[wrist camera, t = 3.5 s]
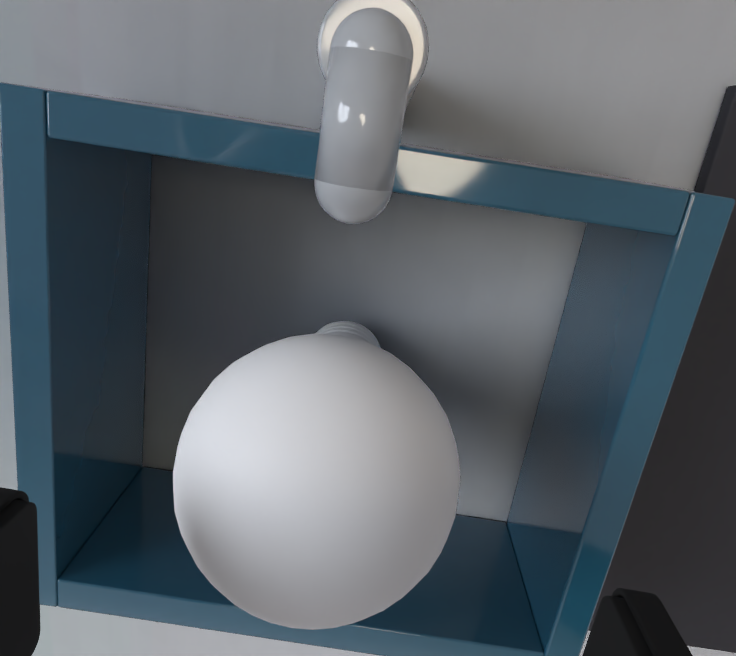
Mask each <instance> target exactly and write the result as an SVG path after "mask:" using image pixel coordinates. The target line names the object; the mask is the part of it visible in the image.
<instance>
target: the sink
mask: <svg viewBox="0 0 736 656" xmlns="http://www.w3.org/2000/svg"><path fill="white" fill-rule="evenodd" d="M428 53H429V39H428V32H427V29H426V25H425V22H424V20H423V18H422V16H421V14H420V12H419V10H418V9H417V8H416V6H415V5H414V4H413V3H412V2H411V1H410V0H336V1H335V2H334V3H333V4H332V6H331V7H330V8H329V9H328V11H327V13H326V14H325V16H324V18H323V20H322V23H321V26H320V29H319V33H318V38H317V56H318V61H319V65H320V69H321V72H322V74H323V76H324V78H325V80H326V82H325V90H324V99H323V107H322V116H321V125H320V130H318V129H311V128H305V127H299V126H292V125H286V124H280V123H273V122H267V121H261V120H254V119H248V118H242V117H235V116H229V115H223V114H216V113H210V112H204V111H197V110H191V109H185V108H178V107H172V106H166V105H159V104H152V103H147V102H140V101H134V100H128V99H121V98H114V97H106V96H99V95H91V94H84V93H76V92H69V91H61V90H54V89H47V88H39V87H32V86H24V85H17V84H9V83H2V82H1V83H0V126H1V147H2V168H3V189H4V210H5V231H6V252H7V273H8V293H9V314H10V335H11V356H12V377H13V398H14V419H15V440H16V460H17V481H18V491H23V492H25V493H26V494H27V495H28V498H29V502H33V503H35V505H36V507H37V527H38V564H39V602H40V604H41V605H48V606H54V607H56V606H59V607H63V608H69V609H76V610H82V611H89V612H96V613H102V614H109V615H116V616H122V617H129V618H135V619H142V620H149V621H155V622H162V623H169V624H175V625H182V626H188V627H195V628H202V629H208V630H215V631H222V632H228V633H235V634H241V635H248V636H255V637H261V638H268V639H274V640H281V641H288V642H294V643H301V644H308V645H314V646H321V647H327V648H334V649H341V650H347V651H354V652H361V653H367V654H374V655H380V656H579V655H580V652H581V649H582V646H583V643H584V641H585V638H586V635H587V632H588V629H589V626H590V623H591V620H592V617H593V614H594V611H595V609H596V606H597V603H598V600H599V597H600V594H601V591H602V588H603V585H604V582H605V580H606V577H607V574H608V571H609V568H610V565H611V562H612V559H613V556H614V553H615V550H616V548H617V545H618V542H619V539H620V536H621V533H622V530H623V527H624V524H625V521H626V519H627V516H628V513H629V510H630V507H631V504H632V501H633V498H634V495H635V492H636V489H637V487H638V484H639V481H640V478H641V475H642V472H643V469H644V466H645V463H646V460H647V458H648V455H649V452H650V449H651V446H652V443H653V440H654V437H655V434H656V431H657V428H658V426H659V423H660V420H661V417H662V414H663V411H664V408H665V405H666V402H667V399H668V397H669V394H670V391H671V388H672V385H673V382H674V379H675V376H676V373H677V370H678V367H679V365H680V362H681V359H682V356H683V353H684V350H685V347H686V344H687V341H688V338H689V335H690V333H691V330H692V327H693V324H694V321H695V318H696V315H697V312H698V309H699V306H700V304H701V301H702V298H703V295H704V292H705V289H706V286H707V283H708V280H709V277H710V274H711V272H712V269H713V266H714V263H715V260H716V257H717V254H718V251H719V248H720V245H721V243H722V240H723V237H724V234H725V231H726V228H727V225H728V222H729V219H730V216H731V213H732V211H733V208H734V205H735V199H733V198H731V197H726V196H720V195H715V194H709V193H704V192H699V191H693V190H688V189H682V188H677V187H672V186H666V185H661V184H655V183H650V182H645V181H639V180H634V179H628V178H622V177H616V176H609V175H602V174H597V173H590V172H584V171H578V170H571V169H565V168H559V167H552V166H546V165H540V164H533V163H527V162H521V161H514V160H508V159H502V158H495V157H489V156H483V155H476V154H470V153H464V152H457V151H451V150H445V149H438V148H432V147H426V146H419V145H413V144H407V143H400V142H401V135H402V129H403V123H404V117H405V110H406V108H407V106H408V104H409V102H410V100H411V98H412V96H413V93H414V91H415V89H416V87H417V85H418V83H419V81H420V79H421V77H422V75H423V73H424V70H425V67H426V64H427V60H428ZM152 155H158V156H165V157H171V158H177V159H184V160H190V161H196V162H203V163H209V164H215V165H222V166H228V167H235V168H241V169H247V170H254V171H260V172H266V173H273V174H279V175H285V176H292V177H298V178H305V179H311V180H314V189H315V194H316V197H317V200H318V202H319V204H320V205H321V207H322V209H323V210H324V211H325V212H326V213H327V214H328V215H329V216H331V217H332V218H334V219H335V220H338V221H340V222H342V223H346V224H361V223H365V222H368V221H370V220H372V219H374V218H375V217H377V216H378V215H379V214H380V213H381V212H382V211H383V210H384V209H385V207H386V206H387V205H388V203H389V201H390V198H391V195H392V192H394V193H400V194H406V195H413V196H419V197H425V198H432V199H438V200H445V201H451V202H457V203H464V204H470V205H476V206H483V207H489V208H495V209H502V210H508V211H515V212H521V213H527V214H534V215H540V216H546V217H553V218H559V219H565V220H572V221H578V222H585V223H587V225H586V229H585V233H584V237H583V240H582V244H581V248H580V251H579V255H578V259H577V263H576V266H575V270H574V274H573V278H572V281H571V285H570V289H569V293H568V296H567V300H566V304H565V308H564V311H563V315H562V319H561V322H560V326H559V330H558V334H557V337H556V341H555V345H554V349H553V352H552V356H551V360H550V364H549V367H548V371H547V375H546V378H545V382H544V386H543V390H542V393H541V397H540V401H539V405H538V408H537V412H536V416H535V420H534V423H533V427H532V431H531V435H530V438H529V442H528V446H527V449H526V453H525V457H524V461H523V464H522V468H521V472H520V476H519V479H518V483H517V487H516V491H515V494H514V498H513V502H512V505H511V509H510V513H509V517H508V520H507V524H506V523H505V522H501V521H494V520H488V519H481V518H475V517H468V516H461V515H456V516H455V519H454V522H453V525H452V527H451V530H450V533H449V536H448V538H447V541H446V543H445V545H444V547H443V549H442V551H441V554H440V555H439V557H438V558H437V560H436V561H435V563H434V564H433V566H432V568H431V569H430V571H429V572H428V573H427V574H426V575H425V576H424V577H423V578H422V579H421V580H420V581H419V582H418V583H417V584H416V585H415V586H414V588H413V589H411V590H410V591H409V592H408V593H407V594H406V595H405V596H404V597H403V598H401V599H400V600H398V601H397V602H395V603H394V604H393V605H391V606H390V607H388V608H387V609H385V610H384V611H382V612H379V613H377V614H375V615H372V616H370V617H368V618H366V619H363V620H361V621H358V622H355V623H352V624H348V625H344V626H340V627H336V628H328V629H315V630H311V629H298V628H289V627H285V626H281V625H277V624H272V623H270V622H267V621H265V620H262V619H260V618H257V617H255V616H252V615H251V614H249V613H247V612H246V611H244V610H242V609H241V608H239V607H237V606H236V605H234V604H233V603H232V602H231V601H230V600H228V599H227V598H226V597H225V596H224V595H223V594H221V593H220V592H219V591H218V590H217V589H216V588H215V587H214V586H213V585H212V584H211V583H210V582H209V581H208V579H207V578H206V577H205V576H204V574H203V573H202V572H201V571H200V570H199V568H198V567H197V565H196V563H195V562H194V560H193V558H192V556H191V554H190V552H189V550H188V548H187V546H186V544H185V542H184V540H183V537H182V535H181V533H180V529H179V526H178V522H177V519H176V515H175V511H174V494H173V471H167V470H161V469H154V468H148V467H142V452H143V420H144V387H145V354H146V321H147V288H148V255H149V222H150V189H151V156H152Z"/></svg>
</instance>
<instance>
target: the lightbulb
mask: <svg viewBox="0 0 736 656" xmlns="http://www.w3.org/2000/svg"><path fill="white" fill-rule="evenodd" d="M460 479H461V476H460V466H459V457H458V450H457V445H456V441H455V437H454V434H453V431H452V429H451V426H450V423H449V420H448V417H447V415H446V413H445V412H444V410H443V408H442V407H441V405H440V403H439V402H438V400H437V398H436V397H435V395H434V394H433V392H432V391H431V390H430V389H429V388H428V386H427V385H426V384H425V383H424V382H423V381H422V380H421V379H420V378H419V376H418V375H417V374H416V373H415V372H414V371H413V370H412V369H411V368H410V367H409V366H408V365H406V364H405V363H403V362H402V361H401V360H399V359H398V358H397V357H395V356H394V355H392V354H391V353H390V352H387V351H385V350H383V349H381V348H380V345H379V342H378V340H377V339H376V337H375V336H374V334H373V333H372V332H371V331H370V330H368V329H367V328H366V327H364V326H363V325H360V324H358V323H355V322H351V321H335V322H332V323H329V324H327V325H325V326H323V327H322V328H321V329H319V330H318V331H317V332H316V333H315V334H307V335H299V336H291V337H287V338H284V339H281V340H278V341H275V342H272V343H269V344H266V345H264V346H262V347H260V348H258V349H256V350H254V351H252V352H251V353H249V354H247V355H245V356H243V357H242V358H240V359H238V360H236V361H235V362H233V363H232V364H231V365H230V366H228V367H227V368H226V369H225V370H224V371H223V372H222V373H220V374H219V375H218V376H217V377H216V378H215V379H214V380H213V381H212V383H211V384H210V385H209V387H208V388H207V389H206V391H205V392H204V393H203V395H202V396H201V398H200V399H199V400H198V402H197V403H196V404H195V406H194V407H193V409H192V410H191V412H190V414H189V417H188V419H187V421H186V424H185V426H184V428H183V431H182V433H181V436H180V440H179V443H178V447H177V452H176V458H175V464H174V469H173V494H174V511H175V515H176V519H177V522H178V526H179V529H180V533H181V535H182V537H183V540H184V542H185V544H186V546H187V548H188V550H189V552H190V554H191V556H192V558H193V560H194V562H195V563H196V565H197V567H198V568H199V570H200V571H201V572H202V573H203V574H204V576H205V577H206V578H207V579H208V581H209V582H210V583H211V584H212V585H213V586H214V587H215V588H216V589H217V590H218V591H219V592H220V593H221V594H223V595H224V596H225V597H226V598H227V599H228V600H230V601H231V602H232V603H233V604H234V605H236V606H237V607H239V608H241V609H242V610H244V611H246V612H247V613H249V614H251V615H252V616H255V617H257V618H260V619H262V620H265V621H267V622H270V623H272V624H277V625H281V626H285V627H289V628H298V629H311V630H315V629H328V628H336V627H340V626H344V625H348V624H352V623H355V622H358V621H361V620H363V619H366V618H368V617H370V616H372V615H375V614H377V613H379V612H382V611H384V610H385V609H387V608H388V607H390V606H391V605H393V604H394V603H395V602H397V601H398V600H400V599H401V598H403V597H404V596H405V595H406V594H407V593H408V592H409V591H410V590H411V589H413V588H414V586H415V585H416V584H417V583H418V582H419V581H420V580H421V579H422V578H423V577H424V576H425V575H426V574H427V573H428V572H429V571H430V569H431V568H432V566H433V564H434V563H435V561H436V560H437V558H438V557H439V555H440V554H441V551H442V549H443V547H444V545H445V543H446V541H447V538H448V536H449V533H450V530H451V527H452V525H453V522H454V519H455V516H456V510H457V503H458V495H459V487H460Z"/></svg>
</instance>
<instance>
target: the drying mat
mask: <svg viewBox="0 0 736 656" xmlns="http://www.w3.org/2000/svg"><path fill="white" fill-rule="evenodd" d="M695 191H699V192H704V193H709V194H715V195H720V196H726V197H731V198H733V199H735V205H734V208H733V211H732V213H731V216H730V219H729V222H728V225H727V228H726V231H725V234H724V237H723V240H722V243H721V245H720V248H719V251H718V254H717V257H716V260H715V263H714V266H713V269H712V272H711V274H710V277H709V280H708V283H707V286H706V289H705V292H704V295H703V298H702V301H701V304H700V306H699V309H698V312H697V315H696V318H695V321H694V324H693V327H692V330H691V333H690V335H689V338H688V341H687V344H686V347H685V350H684V353H683V356H682V359H681V362H680V365H679V367H678V370H677V373H676V376H675V379H674V382H673V385H672V388H671V391H670V394H669V397H668V399H667V402H666V405H665V408H664V411H663V414H662V417H661V420H660V423H659V426H658V428H657V431H656V434H655V437H654V440H653V443H652V446H651V449H650V452H649V455H648V458H647V460H646V463H645V466H644V469H643V472H642V475H641V478H640V481H639V484H638V487H637V489H636V492H635V495H634V498H633V501H632V504H631V507H630V510H629V513H628V516H627V519H626V521H625V524H624V527H623V530H622V533H621V536H620V539H619V542H618V545H617V548H616V550H615V553H614V556H613V559H612V562H611V565H610V568H609V571H608V574H607V577H606V580H605V582H604V585H603V588H602V591H601V594H600V597H599V600H598V603H597V606H596V609H595V611H594V614H593V617H592V620H591V623H590V626H589V629H588V630H589V631H591V629H592V626H593V623H594V620H595V617H596V614H597V611H598V608H599V605H600V602H601V600H602V598H603V597H604V596H607V595H608V596H612V594H613V592H614V591H615V590H616V589H617V588H624V589H630V590H636V591H642V592H648V593H653V594H655V595H657V596H658V598H659V599H660V600H661V602H662V603H663V605H664V607H665V609H666V611H667V612H668V614H669V616H670V618H671V619H672V621H673V623H674V625H675V626H676V628H677V630H678V632H679V633H680V635H681V637H682V639H683V640H684V642H685V644H686V645H688V646H694V647H701V648H707V649H714V650H721V651H727V652H734V653H736V86H730V87H728V88H727V91H726V94H725V97H724V100H723V103H722V106H721V110H720V113H719V116H718V119H717V122H716V125H715V128H714V131H713V135H712V138H711V141H710V144H709V147H708V150H707V153H706V156H705V160H704V163H703V166H702V169H701V172H700V175H699V178H698V181H697V185H696V188H695Z"/></svg>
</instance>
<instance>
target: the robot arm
mask: <svg viewBox="0 0 736 656" xmlns="http://www.w3.org/2000/svg"><path fill="white" fill-rule="evenodd" d="M39 635H40V602H39V564H38V527H37V507H36V505H35V503H33V502H29V498H28V495H27V494H26V493H25V492H23V491H18V490H12V489H6V488H0V656H31V655H32V654H33V652H34V650H35V648H36V645H37V643H38V640H39ZM583 656H692V654H691V653H690V651H689V649H688V647H687V646H686V644H685V642H684V640H683V639H682V637H681V635H680V633H679V632H678V630H677V628H676V626H675V625H674V623H673V621H672V619H671V618H670V616H669V614H668V612H667V611H666V609H665V607H664V605H663V603H662V602H661V600H660V599H659V598H658V596H657V595H655V594H653V593H648V592H642V591H636V590H630V589H624V588H617V589H616V590H615V591H614V592H613V594H612V596H608V595H607V596H604V597H603V598H602V600H601V602H600V605H599V608H598V611H597V614H596V617H595V620H594V623H593V626H592V629H591V632H590V635H589V638H588V641H587V644H586V647H585V650H584V653H583Z"/></svg>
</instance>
